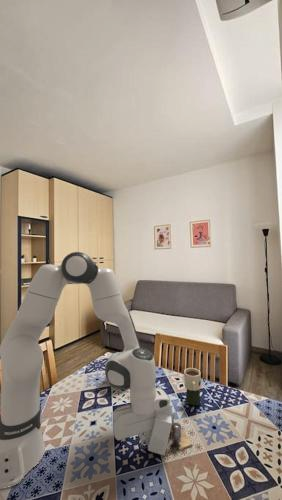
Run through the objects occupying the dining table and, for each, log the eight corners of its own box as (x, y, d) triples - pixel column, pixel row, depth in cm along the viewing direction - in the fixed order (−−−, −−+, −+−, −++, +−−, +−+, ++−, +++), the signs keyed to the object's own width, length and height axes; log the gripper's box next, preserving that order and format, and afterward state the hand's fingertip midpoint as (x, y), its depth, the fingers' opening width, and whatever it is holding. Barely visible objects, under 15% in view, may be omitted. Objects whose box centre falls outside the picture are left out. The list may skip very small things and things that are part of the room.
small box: (164, 456, 68) (172, 424, 68) (147, 451, 68) (155, 418, 68) (163, 435, 76) (170, 406, 76) (148, 430, 76) (155, 402, 76)
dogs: (176, 451, 69) (176, 433, 70) (163, 428, 79) (162, 412, 79) (192, 445, 71) (191, 427, 72) (177, 424, 81) (176, 408, 81)
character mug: (203, 411, 87) (202, 379, 87) (186, 410, 88) (185, 378, 88) (199, 394, 98) (198, 365, 98) (184, 393, 98) (183, 365, 99)
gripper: (114, 415, 65) (115, 462, 64) (174, 398, 72) (175, 441, 71) (110, 402, 71) (111, 445, 70) (165, 388, 78) (166, 427, 77)
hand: (144, 442), depth 71 cm, fingers closed
